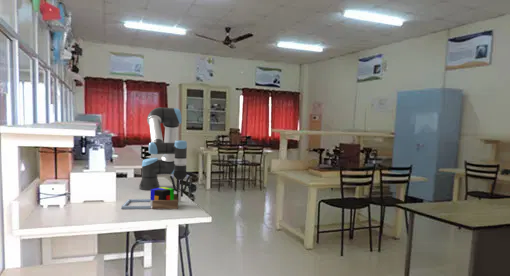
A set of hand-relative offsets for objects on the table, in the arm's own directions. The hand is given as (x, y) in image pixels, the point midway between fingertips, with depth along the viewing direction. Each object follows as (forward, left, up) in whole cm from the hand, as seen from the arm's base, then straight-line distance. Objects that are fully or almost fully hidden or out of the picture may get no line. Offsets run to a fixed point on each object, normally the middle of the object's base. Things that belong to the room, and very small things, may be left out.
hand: (179, 201), depth 205 cm
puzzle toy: (0, -11, -2) cm, 11 cm away
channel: (0, -8, -2) cm, 8 cm away
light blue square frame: (0, -24, -2) cm, 24 cm away
